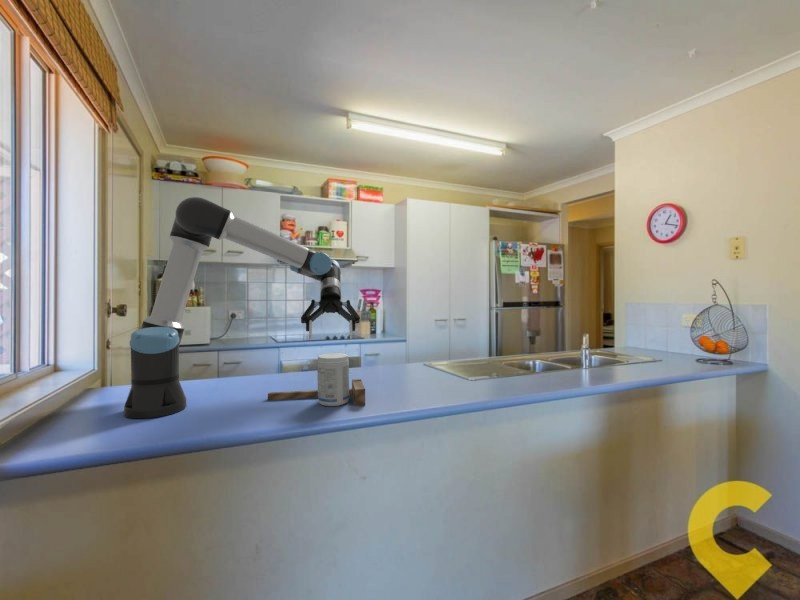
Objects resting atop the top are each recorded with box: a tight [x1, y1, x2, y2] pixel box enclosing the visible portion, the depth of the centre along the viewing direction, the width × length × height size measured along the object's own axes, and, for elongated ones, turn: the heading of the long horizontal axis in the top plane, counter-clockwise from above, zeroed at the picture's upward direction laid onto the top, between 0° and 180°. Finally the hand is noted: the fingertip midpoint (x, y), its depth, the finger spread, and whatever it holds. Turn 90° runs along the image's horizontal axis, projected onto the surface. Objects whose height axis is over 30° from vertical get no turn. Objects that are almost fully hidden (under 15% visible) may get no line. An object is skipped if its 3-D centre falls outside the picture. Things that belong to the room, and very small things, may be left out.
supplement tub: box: [316, 352, 350, 407], centre depth 118 cm, size 10×10×15 cm
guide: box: [267, 378, 366, 407], centre depth 119 cm, size 30×13×5 cm, turn 101°
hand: (330, 337), depth 129 cm, fingers open, 13 cm apart
